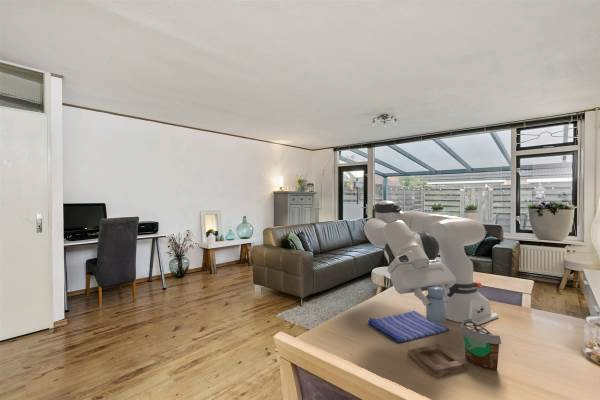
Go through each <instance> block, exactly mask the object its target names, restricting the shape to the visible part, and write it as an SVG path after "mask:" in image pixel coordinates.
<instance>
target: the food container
mask: <svg viewBox="0 0 600 400" xmlns="http://www.w3.org/2000/svg"><path fill="white" fill-rule="evenodd" d="M460 332H461V333H462V335H463V340H464V341H463V343H464V354H465V359H466V362H468V363H470V364H471V365H473V366H475V367H477V368H479V369H484V370H489V371H498V366H499V365H498V364H499V363H498V362H499V352H500V351H499V349H500V345H501V344H502V340H501V336H500V335H495V334H492V333H491V332H490V331H488V330H487V329H486V328H484V327H482V326H480V325H476V324H474V323H473V322H472V319H466V320H464V321H463V322H461V326H460Z"/></svg>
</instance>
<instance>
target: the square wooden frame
mask: <svg viewBox="0 0 600 400" xmlns="http://www.w3.org/2000/svg"><path fill="white" fill-rule="evenodd" d="M407 357H409V358H410V359H411V360H412V361H413V362H415V363H416V364H418V365H419V366H420V367H421V368H422V369H424V370H425V371H427V372H428V373H429V374H430V375H432V376H433V377H434V378H438V377H444V376H446V375H451V374H454V373H455V374H456V373H460V372H464V371H467V370H469V368H468V364H469V362H468V361H465V360H463V359H462V358H460V357H458V356H457V355H456V354H454V353H453V352H451V351H449V350H448V349H446V348H445V347H443V346H441V345H440V344H439V343H437V344H431V345H426V346H422V347H416V348H411V349H408V350H407Z"/></svg>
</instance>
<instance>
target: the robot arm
mask: <svg viewBox="0 0 600 400" xmlns="http://www.w3.org/2000/svg"><path fill="white" fill-rule="evenodd" d="M374 206H375V207H374V212H375V213H374V215H375V217H374V218H369V219H368V220H366V222H365V223H364V225H363V231H364V234H365V237H366V238H367V240H368V241H369V243H370V244H372V245H373V246H374V247H377V248H380V249H383V250H382V251H383V256H384V257H385V260H386V262H387V263H388V267H387V269H386V270H387V272H388V273H389V275H390V277H389V278H390V281H391V284H392V287H394V290H395V291H396V292H397V293H398V294H399V295H403V294H412V293H413V294H414V296H415V297H417V298H418V299H419V300H420V301H421V302H422V304H423V306H425V307H426V305H430V304H431V300H430V298H429V297H426V295H425V294H424V293H423V292H426V291H427V292H428V287H430V286H437V287H441V288H443V297H445V320H446V319H447V320H450V321H452V322H456V323H457V322H458V323H463V321H464V320H466V319H472V322H473V323H474V324H476V325H478V326H480V325H482V324H484V323H487V322H490V321H493V320H495V319H497V318H498V319H499V315H498V313H497V312H495V311H493V310H492V308H491V303H490V300H489V299H487V298H486V297H485V296H484V295H483V294H482V293H480V292H479V291H478V289H477V288H479V289H481V288H482V287H483V285H482V283H481V282H478V281H475V282H474V262H473V261H472V260H471V259H470V258H469V257H468V255H467V253H466V250H465V246H466V247H467V246H472V245H473V246H474V245H475V244H478V243H480V242H482V241H483V240H484V239H485V237H486V228H485V226H484V224H483V222H481V221H480V220H477V219H472V218H468V217H467V218H466V217H462V216H461V217H459V216H451V215H443V214H434V213H430V212H425V211H419V210H404V211H402V210H403V209H402V207H401V206H399V205H398V204H397V203H396V202H395V201H393V200H388V199H387V200H385V199H383V200H381V201H378V202H377V203H376V204H375V205H374ZM438 255H439V256H440V260H441V261H440V260H438V259H436V258H437V257H438Z"/></svg>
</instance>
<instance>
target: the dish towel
mask: <svg viewBox="0 0 600 400" xmlns="http://www.w3.org/2000/svg"><path fill="white" fill-rule="evenodd" d="M367 323H368V324H369V326H371V327H372V328H374V329H375V330H377V331H378V332H380V333H381V334H383V335H385V336H386V337H387V338H388V339H390V340H391V341H393V342H395V343H397V344H399V343H404V342H405V343H406V342H410V341H414V340H418V339H422V338H426V337H430V336H435V335H438V334H442V333H444V332H447V331H449V330H450V328H449V327H447V326H445V325H443V324H442V323H434V322H431V321H429V320H427V319H426V316H423V315H422V314H420V313H419V312H417V311H415V310H411V311H409V312H405V313H401V314H400V313H399V314H394V315H389V316H383V317H379V318H375V317H373V318H371V317H369V319H368V320H367Z"/></svg>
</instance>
